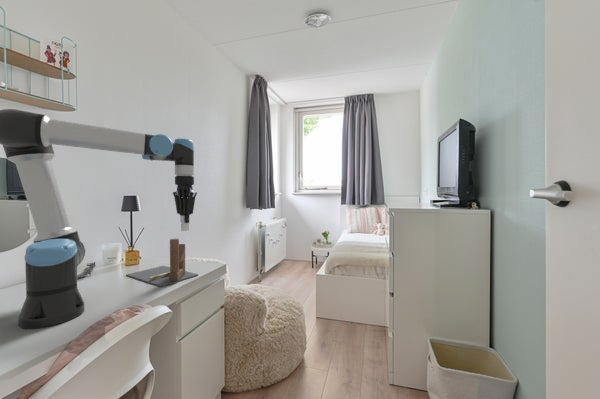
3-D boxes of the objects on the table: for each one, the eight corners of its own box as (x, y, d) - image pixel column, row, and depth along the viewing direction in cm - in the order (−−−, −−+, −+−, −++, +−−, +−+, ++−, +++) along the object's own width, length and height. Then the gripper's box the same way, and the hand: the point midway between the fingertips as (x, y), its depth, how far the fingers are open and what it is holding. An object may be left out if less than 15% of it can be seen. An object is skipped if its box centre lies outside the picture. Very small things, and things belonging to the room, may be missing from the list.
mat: (161, 287, 110) (161, 285, 110) (126, 275, 125) (126, 274, 125) (198, 275, 126) (198, 274, 125) (163, 266, 140) (163, 265, 140)
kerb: (151, 281, 116) (151, 277, 116) (149, 280, 116) (149, 277, 116) (184, 271, 129) (184, 268, 129) (182, 271, 130) (182, 268, 130)
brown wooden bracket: (185, 273, 126) (185, 235, 126) (177, 281, 115) (177, 239, 115) (177, 274, 126) (177, 235, 125) (168, 281, 115) (168, 239, 115)
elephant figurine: (68, 278, 121) (86, 266, 129) (79, 287, 122) (96, 274, 130) (76, 267, 117) (94, 255, 126) (87, 276, 118) (104, 263, 126)
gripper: (201, 175, 115) (202, 230, 116) (182, 176, 122) (183, 228, 122) (186, 174, 109) (187, 232, 109) (167, 175, 115) (167, 230, 116)
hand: (185, 230), depth 116 cm, fingers closed
